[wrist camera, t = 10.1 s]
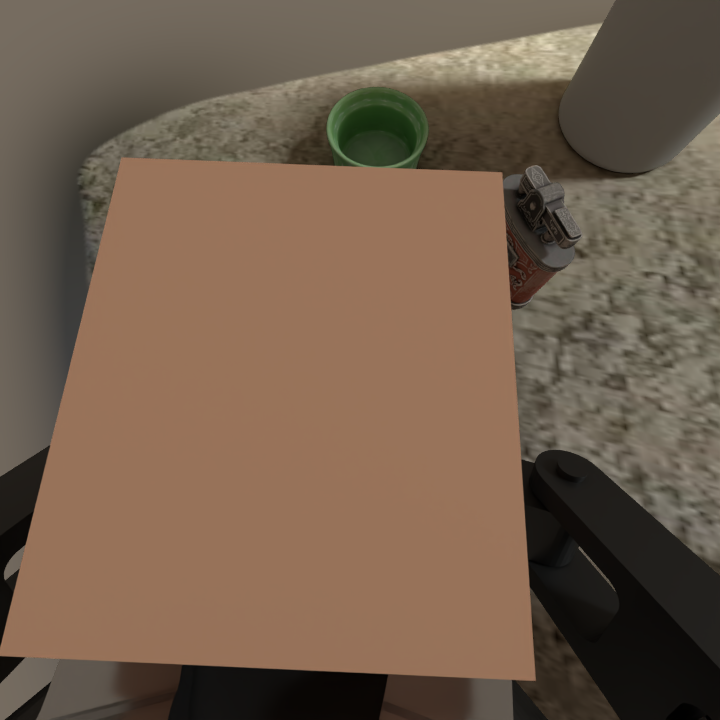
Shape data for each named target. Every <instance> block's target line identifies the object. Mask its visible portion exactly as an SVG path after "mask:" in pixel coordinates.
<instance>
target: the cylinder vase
mask: <svg viewBox="0 0 720 720" xmlns="http://www.w3.org/2000/svg"><path fill="white" fill-rule="evenodd" d="M719 114H720V0H616V1H615V2H614V4H613V6H612V8H611V10H610V12H609V13H608V15H607V17H606V19H605V20H604V22H603V24H602V26H601V28H600V30H599V31H598V33H597V35H596V37H595V39H594V40H593V42H592V44H591V46H590V48H589V49H588V51H587V53H586V55H585V57H584V58H583V60H582V62H581V64H580V66H579V67H578V69H577V71H576V73H575V75H574V76H573V78H572V80H571V82H570V84H569V85H568V87H567V89H566V91H565V93H564V94H563V97H562V99H561V102H560V106H559V122H560V127H561V130H562V132H563V135H564V137H565V138H566V140H567V142H568V143H569V144H570V146H571V147H572V148H573V149H574V150H575V151H576V152H577V153H578V154H579V155H580V156H582V157H583V158H584V159H586V160H587V161H589V162H591V163H592V164H594V165H597V166H599V167H601V168H604V169H607V170H611V171H615V172H621V173H639V172H646V171H650V170H653V169H656V168H658V167H661V166H663V165H664V164H666V163H668V162H669V161H671V160H672V159H673V158H674V157H675V156H677V155H678V154H679V153H680V152H681V151H682V150H683V149H684V148H685V147H686V146H687V145H688V144H689V143H690V142H691V141H692V140H693V139H694V138H695V137H696V136H697V135H698V134H699V133H700V132H701V131H702V130H703V129H704V128H705V127H706V126H707V125H708V124H709V123H711V122H712V121H713V120H714V119H715V118H716V117H717V116H718V115H719Z"/></svg>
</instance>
